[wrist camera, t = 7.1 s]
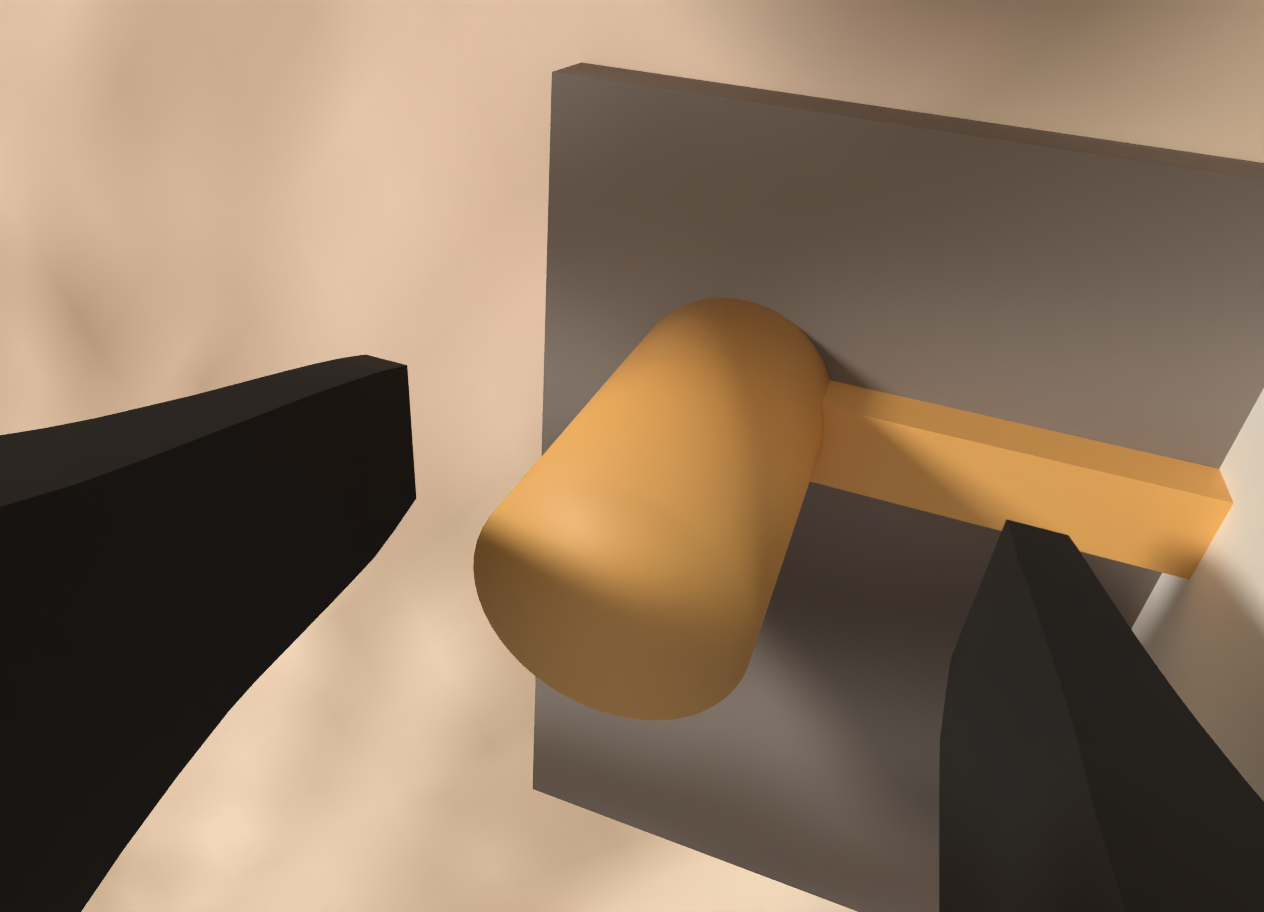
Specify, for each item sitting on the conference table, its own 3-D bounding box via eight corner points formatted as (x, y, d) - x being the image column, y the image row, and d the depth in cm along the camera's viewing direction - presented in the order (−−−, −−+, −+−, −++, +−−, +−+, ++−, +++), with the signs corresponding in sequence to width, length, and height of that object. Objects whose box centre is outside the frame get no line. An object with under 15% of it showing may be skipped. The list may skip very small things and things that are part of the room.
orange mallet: (1532, 760, 11) (1834, 1220, 7) (621, 504, 14) (478, 725, 10) (1860, 436, 8) (2641, 888, 4) (648, 208, 12) (467, 353, 8)
